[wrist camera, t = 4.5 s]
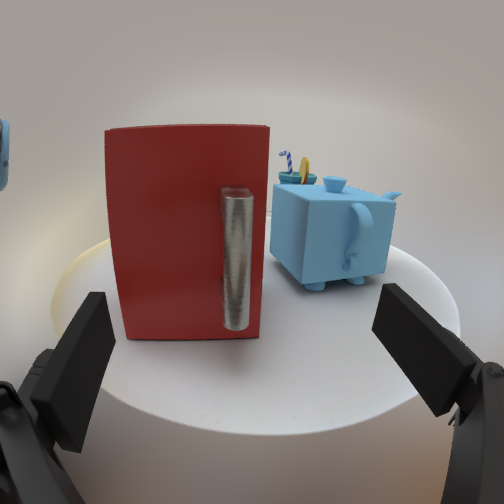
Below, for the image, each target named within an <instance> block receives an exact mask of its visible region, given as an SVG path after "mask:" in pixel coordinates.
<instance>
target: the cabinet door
mask: <svg viewBox="0 0 504 504" xmlns="http://www.w3.org/2000/svg"><path fill="white" fill-rule="evenodd" d="M269 137H270V127H265V126H241V125H179V126H155V127H139V128H127V129H116V130H106V131H105V177H106V196H107V209H108V221H109V230H110V240H111V248H112V256H113V264H114V271H115V277H116V284H117V290H118V295H119V301H120V307H121V312H122V317H123V322H124V327H125V331H126V336H127V339H228V338H250V337H259V330H260V313H261V296H262V279H263V261H264V242H265V223H266V200H267V180H268V159H269V158H268V157H269Z"/></svg>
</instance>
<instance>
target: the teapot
mask: <svg viewBox="0 0 504 504" xmlns="http://www.w3.org/2000/svg"><path fill="white" fill-rule="evenodd" d="M323 180H324V184H325V185H295V184H274V186H273V201H272V202H273V203H272V219H271V236H270V252H271V253H272V255H273V256H274V257H275V258H276V259H277V260H278V261H279V262H280V263H281V264H282V265H283V266H284V267H285V268H286V269H287V270H288V271H289V272H290V273H291V274H292V275H293V276H294V278H295V279H296V280H297V281H298V282H299V283H300V284H304V287H305V288H306V289H308V290H312V291H321V290H323V289H324V288H325V281H332V280H339V279H346V280H347V281H348V282H349V283H352V284H355V285H362V284H364V283H365V280H364V278H363V276H368V275H375V274H382V273H384V271H385V266H386V261H387V256H388V251H389V246H390V240H391V235H392V228H393V222H394V215H395V209H396V202H395V201H393V200H394V199H395V198H396V197H398V196H399V195H401V194H402V193H400V192H387V193H385V194H384V195H383V196H382V197H381V196H378V195H375V194H372V193H369V192H366V191H363V190H360V189H357V188H354V187H351V186H345V184H346V181H347V180H346V179H344V178H340V177H334V176H325V177H323Z"/></svg>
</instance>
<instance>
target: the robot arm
mask: <svg viewBox="0 0 504 504" xmlns="http://www.w3.org/2000/svg"><path fill="white" fill-rule="evenodd" d="M8 159H9V122H8V121H7V120H2V119H0V191H2V190H3V189H4V188H5V187H6V185H7V182H8ZM372 331H373V332H374V334H375V335H376V336H377V338H378V339H379V340H380V342H381V343H382V344H383V345H384V347H385V348H386V349H387V351H388V352H389V353H390V355H391V356H392V357H393V359H394V360H395V361H396V363H397V364H398V365H399V367H400V368H401V369H402V371H403V372H404V373H405V375H406V376H407V378H408V379H409V380H410V382H411V383H412V384H413V386H414V387H415V389H416V390H417V391H418V393H419V394H420V395H421V397H422V398H423V400H424V401H425V402H426V404H427V405H428V407H429V408H430V409H431V411H432V412H433V414H434V415H435V416H436V417H438V416H441V415H443V414H446V413H448V412H449V411H450V409H451V408H452V407H453V405H454V403H455V402H456V403H457V404H458V406H459V407H458V409H457V410H456V412H455V413H454V415H453V417H452V418H451V419H450V421H449V423H448V425H451V423H452V422H453V421H454V420H455V424H454V425H453V426H454V434H453V442H452V449H451V456H450V461H449V467H448V472H447V477H446V482H445V487H444V491H443V496H442V500H441V504H504V369H503V367H502V366H500V365H499V364H497V363H494V362H487V363H483V362H482V361H481V360H480V359H479V358H478V357H477V356H476V355H475V354H474V353H473V352H472V351H471V350H470V349H469V348H468V347H467V346H465V344H464V343H463V342H462V341H460V339H459V338H458V337H457V336H456V335H455V334H454V333H453V332H451V331H449V330H448V329H446V328H443V327H442V326H441V325H440V324H439V323H438V322H437V321H436V320H435V319H434V318H433V317H432V316H431V315H430V314H428V313H427V312H426V311H425V310H424V309H423V308H422V307H421V306H420V305H419V304H418V303H417V302H416V301H414V300H413V299H412V298H411V297H410V296H409V295H408V294H407V293H406V292H404V291H403V290H402V289H401V288H400V287H399V286H398V285H397V284H396V283H391V284H383V286H382V291H381V295H380V299H379V303H378V307H377V311H376V315H375V319H374V322H373V326H372ZM115 342H116V340H115V336H114V332H113V328H112V323H111V319H110V314H109V310H108V305H107V300H106V295H105V292H89V294H88V295H87V297H86V298H85V300H84V302H83V303H82V305H81V306H80V308H79V309H78V311H77V313H76V314H75V316H74V317H73V319H72V321H71V322H70V324H69V326H68V327H67V329H66V331H65V332H64V334H63V336H62V337H61V339H60V341H59V342H58V344H57V346H56V348H55V349H46V350H44V351H43V352H42V353H41V354H40V355H39V356H38V357H37V358H36V360H35V362H34V363H33V367H31V369H30V370H29V372H28V374H27V376H26V377H25V379H24V381H23V383H22V385H21V387H20V388H19V390H18V392H17V393H16V391H15V389H14V387H13V386H12V384H10V383H8V382H5V381H0V504H19V499H18V494H17V491H18V493H19V495H20V498H21V500H22V502H23V504H86V503H85V502H84V500H83V499H82V497H81V496H80V494H79V492H78V491H77V489H76V487H75V486H74V484H73V483H72V481H71V479H70V477H69V476H68V474H67V472H66V470H65V469H64V467H63V465H62V463H61V461H60V459H59V457H58V455H57V454H56V452H55V451H54V449H53V447H54V444H55V441H57V443H58V444H59V446H60V447H61V449H63V450H67V451H71V452H76V453H81V450H82V447H83V443H84V439H85V435H86V432H87V428H88V425H89V421H90V418H91V414H92V411H93V408H94V404H95V401H96V398H97V395H98V392H99V389H100V386H101V383H102V380H103V377H104V374H105V371H106V368H107V365H108V362H109V359H110V356H111V353H112V351H113V348H114V345H115Z"/></svg>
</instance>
